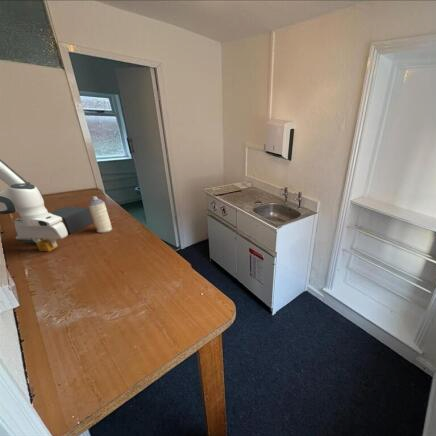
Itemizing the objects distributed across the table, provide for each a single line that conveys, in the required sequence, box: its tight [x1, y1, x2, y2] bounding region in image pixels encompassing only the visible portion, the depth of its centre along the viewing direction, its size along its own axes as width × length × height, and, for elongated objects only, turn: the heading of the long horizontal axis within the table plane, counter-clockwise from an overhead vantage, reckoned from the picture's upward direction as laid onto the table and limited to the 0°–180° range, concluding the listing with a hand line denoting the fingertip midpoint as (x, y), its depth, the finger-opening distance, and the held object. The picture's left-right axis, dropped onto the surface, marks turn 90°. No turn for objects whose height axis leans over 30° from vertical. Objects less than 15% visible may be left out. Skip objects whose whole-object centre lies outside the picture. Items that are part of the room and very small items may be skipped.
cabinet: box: [49, 206, 94, 235], centre depth 130 cm, size 16×14×10 cm
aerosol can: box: [88, 195, 113, 234], centre depth 127 cm, size 7×7×20 cm
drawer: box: [15, 219, 68, 243], centre depth 118 cm, size 19×12×8 cm, turn 0°
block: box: [35, 239, 59, 252], centre depth 110 cm, size 4×4×4 cm
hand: (47, 245), depth 110 cm, fingers closed on block, 4 cm apart
